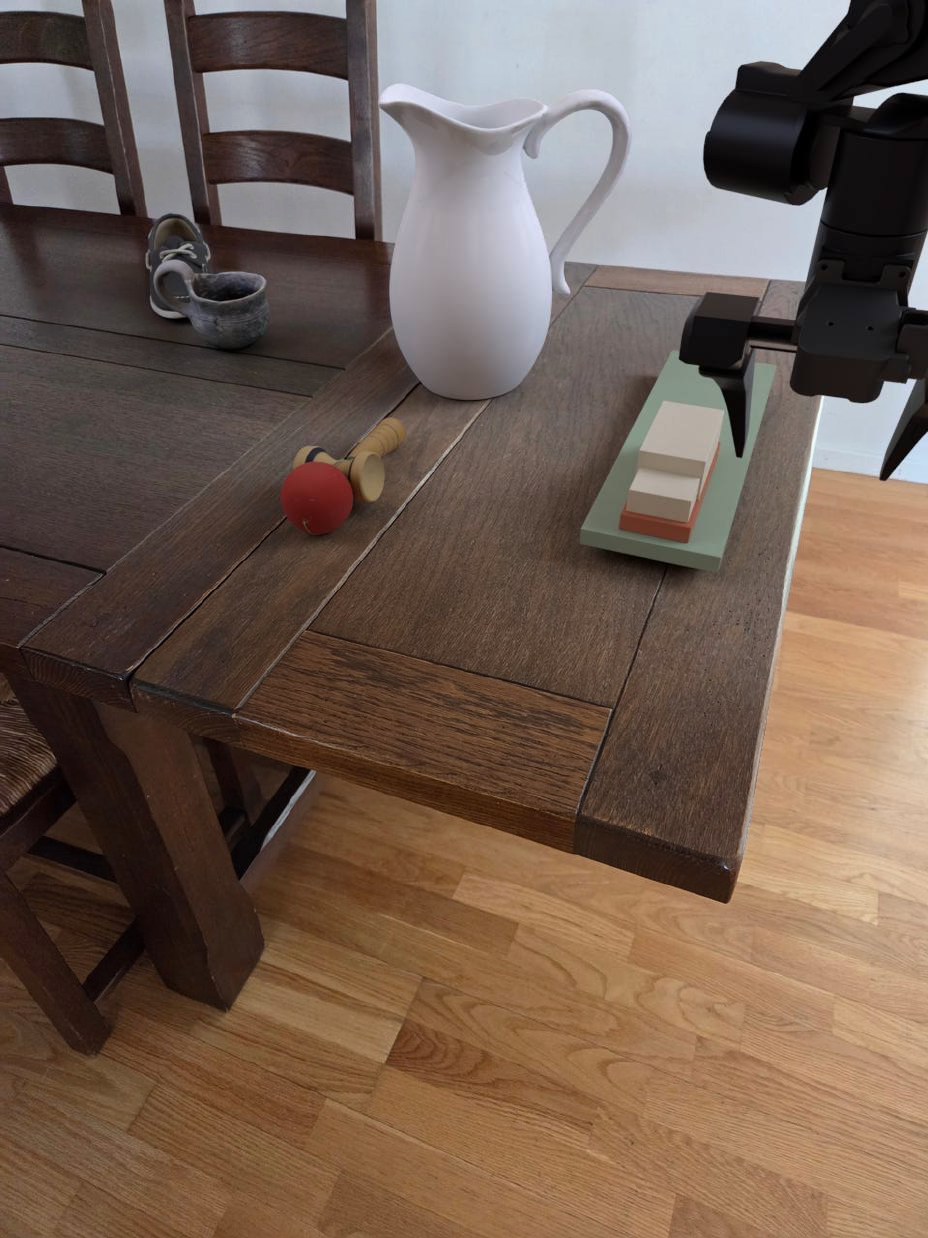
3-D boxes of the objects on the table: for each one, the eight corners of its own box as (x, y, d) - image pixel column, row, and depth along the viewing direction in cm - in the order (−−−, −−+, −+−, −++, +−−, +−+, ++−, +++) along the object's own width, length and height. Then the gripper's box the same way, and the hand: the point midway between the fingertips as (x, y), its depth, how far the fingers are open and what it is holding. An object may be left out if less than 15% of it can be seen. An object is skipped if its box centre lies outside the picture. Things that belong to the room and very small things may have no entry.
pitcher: (395, 417, 89) (372, 110, 71) (395, 350, 102) (375, 74, 83) (624, 407, 90) (659, 101, 71) (595, 341, 102) (619, 67, 84)
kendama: (350, 450, 86) (254, 526, 72) (359, 391, 83) (258, 459, 68) (420, 476, 85) (336, 558, 71) (432, 417, 81) (345, 491, 67)
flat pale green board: (668, 376, 95) (671, 350, 93) (770, 391, 92) (776, 364, 90) (577, 558, 70) (580, 528, 68) (714, 588, 67) (721, 557, 65)
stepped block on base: (656, 446, 78) (663, 394, 74) (717, 456, 76) (728, 405, 73) (618, 529, 68) (624, 474, 65) (687, 543, 66) (698, 488, 63)
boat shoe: (223, 322, 109) (210, 262, 104) (148, 330, 107) (132, 269, 102) (219, 259, 127) (208, 205, 122) (155, 265, 126) (142, 211, 121)
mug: (281, 352, 102) (267, 265, 95) (173, 368, 99) (151, 280, 92) (269, 322, 109) (255, 239, 102) (168, 336, 106) (147, 252, 99)
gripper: (678, 250, 45) (646, 502, 55) (1083, 287, 40) (965, 560, 50) (714, 195, 53) (680, 425, 63) (1056, 219, 47) (959, 467, 57)
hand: (809, 466), depth 58 cm, fingers open, 9 cm apart
